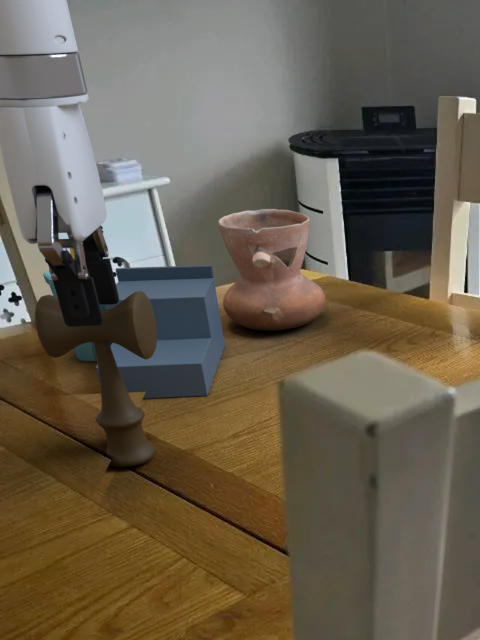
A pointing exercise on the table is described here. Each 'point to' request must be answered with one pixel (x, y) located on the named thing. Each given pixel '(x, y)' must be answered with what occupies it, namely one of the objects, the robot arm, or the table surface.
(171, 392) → the step rack
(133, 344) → the kendama
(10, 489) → the table surface
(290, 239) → the ceramic jug
